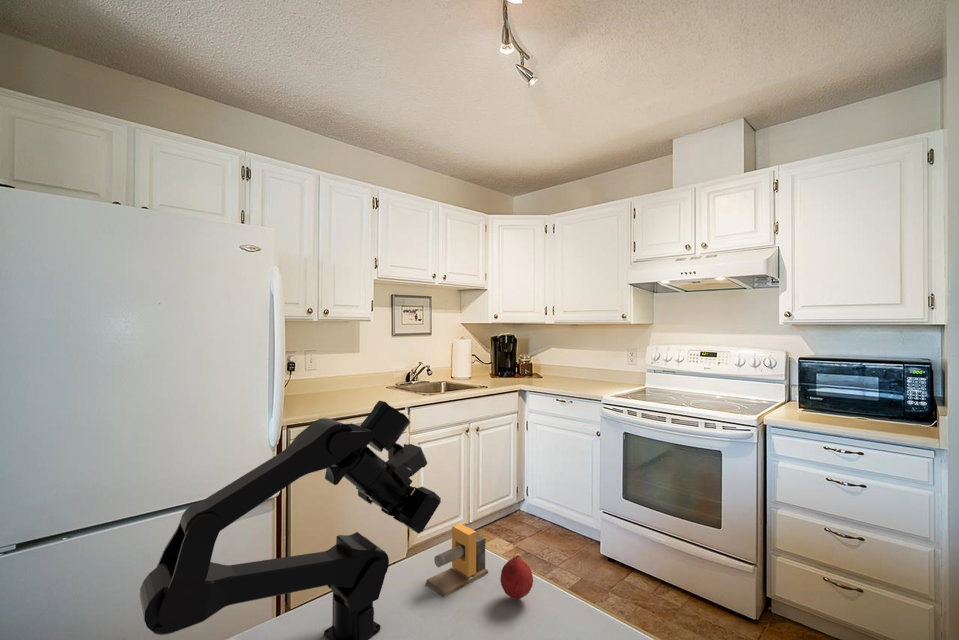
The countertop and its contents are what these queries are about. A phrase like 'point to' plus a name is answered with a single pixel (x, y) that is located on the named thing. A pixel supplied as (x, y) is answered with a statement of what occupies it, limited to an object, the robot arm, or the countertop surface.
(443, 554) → the pipe stand
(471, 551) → the collar
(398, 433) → the robot arm
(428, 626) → the countertop surface
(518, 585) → the onion
